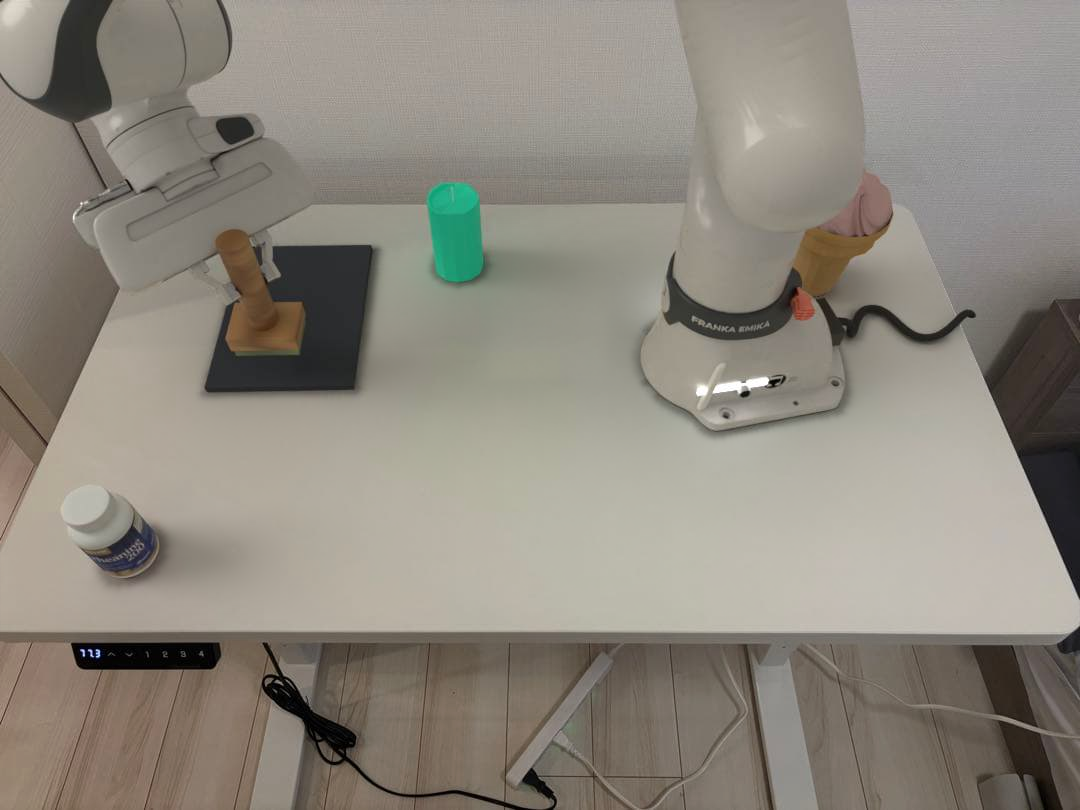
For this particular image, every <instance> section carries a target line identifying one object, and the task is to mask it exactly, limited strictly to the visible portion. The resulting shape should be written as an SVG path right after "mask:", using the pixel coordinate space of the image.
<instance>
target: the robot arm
mask: <svg viewBox="0 0 1080 810" xmlns="http://www.w3.org/2000/svg"><path fill="white" fill-rule="evenodd" d="M847 1H848V0H673V5H674V11H675V15H676V19H677V24H678V29H679V33H680V36H681V42H682V45H683V50H684V55H685V58H686V59H685V60H686V63H687V66H688V71H689V76H690V80H691V83H692V89H693V92H694V97H695V100H696V105H697V110H696V116H695V124H694V131H693V139H692V148H691V155H690V165H689V173H688V180H687V190H686V196H685V197H686V198H685V203H684V208H683V214H682V218H681V223H680V228H679V233H678V239H677V244H676V249H675V250H674V252H673V253H672V255H671V257H670V260H669V263H668V266H667V270H666V274H665V276H664V278H663V279H664V280H663V285H662V290H661V297H660V307H661V308H660V311H659V312H658V315H657V318H656V319H655V322H654V324H653V326H652V327H651V328H650V330H649V332H648V333H647V335H646V336H645V338H644V339H643V341H642V344H641V347H640V353H639V357H640V359H639V361H640V365H641V370H642V372H643V374H644V376H645V378H646V380H647V381H648V383H649V384H650V386H651V387H652V388H653V389H654V390H655V391H656V392H657V393H658V394H659V395H660V396H661V397H663V398H664V399H666V400H667V401H669V402H670V403H672V404H674V405H676V406H677V407H679V408H682V409H684V410H686V411H688V412H689V413H691V414H692V415H693V416H694V417H695V418H696V419H697V420H698V421H699V422H700V423H701V424H702V425H703V426H704V427H705V428H707V429H708V430H710V431H715V432H720V431H726V430H731V429H736V428H741V427H746V426H747V427H748V426H752V425H757V424H763V423H766V422H773V421H778V420H783V419H789V418H794V417H800V416H803V415H808V414H809V415H810V414H815V413H819V412H824V411H830V410H834V409H836V408H838V406H839V404H840V403H841V400H842V398H843V394H844V391H845V384H846V376H845V368H844V363H843V359H842V356H841V352H840V349H839V347H838V346H840V345H841V343H842V341H843V340H844V337H845V335H846V336H847V337H848V338H854V337H855V336H856V335H857V334H858V332H859V327H860V326H861V325H860V324H861V322H862V320H863V317H864V316H865V315H866V314H868V313H875V314H879V315H881V316H882V317H884V318H885V319H886V320H887V321H889V322H890V323H891V324H892V325H893V326H894V327H895V328H896V329H897V330H898V331H899V332H900V333H902V334H903V335H905V336H906V337H908V338H910V339H911V340H914V341H917V342H925V343H926V342H928V343H929V342H934V341H938V340H940V339H942V338H944V337H946V336H948V335H949V334H951V333H952V332H953V331H954V330H956V329H957V327H958V326H960V324H961V323H962V322H963V321H965V320H966V319H967V318H969V319H975V318H976V317H977V313H976V312H975V311H974V310H972V309H967V308H965V309H964V310H962V311H960V312H959V313H958V314H957V315H956V316H955V317H954V318H953V319H952V320H951V321H950V322H948V324H947V325H946V326H944V327H942V328H941V329H940V330H938V331H936V332H935V331H934V332H932V333H921V332H918V331H916V330H913V329H912V328H910V327H909V326H908V325H906V323H904V322H903V321H902V320H901V319H900V318H899V317H898V316H897V315H896V314H894V313H893V312H892V311H891V310H889V309H887V308H886V307H884V306H882V305H878V304H867V305H864V306H862V307H860V308H859V309H858V310H857V311H856V312H855V314H854V315H853V318H852V319H850V318H847V317H841V316H837V314H836V312H834V310H833V308H832V307H831V305H830V304H829V301H828V300H827V299H826V297H821V298H814V296H811V295H810V294H809V293H807V292H806V291H803V290H801V288H802V285H803V283H802V279H801V276H800V274H799V272H798V271H797V270H796V269H795V268H794V264H793V263H794V261H795V258H796V255H797V252H798V250H799V247H800V244H801V242H802V239H803V236H804V234H805V231H806V230H809V229H812V228H815V227H817V226H820V225H822V224H824V223H826V222H827V221H829V220H831V219H832V218H834V217H835V216H837V215H838V214H839V213H840V212H841V211H843V210H844V209H845V208H846V207H847V206H848V204H849V203H850V202H851V201H852V199H853V198H854V196H855V195H856V193H857V191H858V189H859V187H860V184H861V180H862V175H863V167H864V165H865V156H866V137H867V136H866V117H865V110H864V104H863V96H862V90H861V83H860V77H859V70H858V64H857V58H856V52H855V46H854V39H853V35H852V34H853V32H852V27H851V21H850V13H849V8H848V3H847ZM232 48H233V30H232V25H231V21H230V17H229V14H228V12H227V9H226V7H225V5H224V2H223V1H222V0H0V80H1V81H2V82H3V83H4V84H5V86H6V87H7V88H8V89H9V90H10V91H11V92H12V93H13V94H14V95H16V96H17V97H18V98H20V99H21V100H22V101H24V102H26V103H27V104H29V105H31V106H32V107H34V108H36V109H37V110H39V111H41V112H43V113H46V114H48V115H50V116H52V117H54V118H56V119H59V120H62V121H65V122H67V123H70V124H78V123H81V122H83V121H86V120H90V121H92V123H93V125H94V126H95V128H96V129H97V131H98V133H99V136H100V139H101V143H102V146H103V147H104V149H105V151H106V152H107V154H108V155H109V157H110V158H111V160H112V162H113V163H114V164H115V166H116V168H117V170H119V172H120V174H121V176H122V177H123V178H124V180H122V181H120V182H118V183H116V184H114V185H112V186H109V187H107V188H106V189H104V190H103V191H101V192H99V193H96V194H94V195H93V194H92V195H89V196H87V197H85V198H83V199H82V200H80V201H79V202H78V203H79V206H78V207H77V208H76V209H75V210H74V212H73V214H72V225H73V227H74V230H75V231H76V232H77V234H78V236H79V237H80V238H81V240H82V241H83V243H84V244H85V245H86V246H87V247H89V248H91V249H93V250H96V251H98V252H99V253H100V255H101V258H102V259H103V261H104V264H105V265H106V267H107V269H108V271H109V273H110V274H111V276H112V278H113V280H114V281H115V283H116V285H117V287H118V288H119V289H120V290H121V292H122V293H125V294H127V295H130V296H134V297H135V296H139V295H140V294H143V293H145V292H147V291H149V290H150V289H152V288H154V287H156V286H158V285H161V284H163V283H164V282H166V281H168V280H170V279H172V278H174V277H176V276H178V275H180V274H182V273H183V272H186V271H188V272H189V274H190V275H191V276H192V278H193V279H194V280H195V282H198V283H200V284H201V285H203V286H205V287H207V288H208V289H211V291H214V292H215V291H216V294H217V295H218V296H219V298H220V299H221V301H222V302H223V303H224V306H225V307H226V306H227V305H229V304H231V303H233V302H235V301H236V300H238V299H240V298H241V295H240V293H239V292H238V291H236V290H235V288H236V287H235V286H234V284H233V283H232V281H231V280H230V281H229V282H227V283H225V284H223V283H222V282H220V281H218V280H217V279H215V278H213V277H212V276H210V275H208V273H210V271H211V269H210V267H209V266H208V264H207V263H206V261H208V260H209V259H211V258H213V257H216V256H217V255H219V253H218V250H217V248H216V246H215V240H216V238H217V237H218V236H219V235H220V234H221V233H222V232H224V231H227V230H231V229H239V230H242V231H244V232H246V233H247V235H248V237H249V239H250V242H251V243H252V245H253V246H255V247H259V246H262V263H263V265H261V266H260V268H261V271H262V274H263V276H264V279H265V281H266V284H268V283H270V282H272V281H274V280H275V279H277V278H279V277H281V274H280V272H279V271H278V269H277V267H276V266H275V264H274V262H273V261H272V259H273V248H272V246H273V237H272V236H271V234H270V232H269V231H268V229H270V228H272V227H274V226H276V225H278V224H280V223H282V222H284V221H286V220H288V219H290V218H292V217H294V216H295V215H297V214H299V213H301V212H304V211H305V210H307V209H309V208H310V207H311V206H312V205H313V204H314V201H315V194H316V193H315V189H314V187H313V185H312V183H311V182H310V180H309V178H308V177H307V175H306V174H305V172H304V171H303V169H302V167H301V166H300V165H299V163H298V162H297V161H296V160H295V158H294V156H293V155H291V153H290V152H289V151H288V150H287V148H286V147H285V146H284V145H283V144H281V143H280V142H279V141H278V140H276V139H274V138H270V137H264V135H265V131H266V127H265V125H264V122H263V120H262V119H261V117H260V116H259V115H257V114H256V113H253V112H252V113H251V112H245V113H235V114H223V115H210V116H208V115H207V116H201V114H200V113H199V111H198V109H197V108H196V107H195V105H194V104H193V103H192V102H191V101H190V99H189V96H188V91H189V89H190V88H191V87H192V86H195V85H198V84H202V83H206V82H207V81H209V80H210V79H212V78H213V77H215V76H216V75H218V74H220V73H221V72H223V70H224V69H225V68H226V66H227V65H228V63H229V60H230V57H231V54H232V50H233V49H232ZM83 211H84V212H83ZM82 212H83V213H82ZM81 213H82V214H81ZM845 327H846V329H845Z"/></svg>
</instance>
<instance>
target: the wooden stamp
mask: <svg viewBox="0 0 1080 810" xmlns="http://www.w3.org/2000/svg"><path fill="white" fill-rule="evenodd" d="M215 246H216V248H217V250H218V253H219V254H218V255H219V257H220V260H221V263H222V264H223V266H224V269H225V271H226V274H227V277H228V278H229V280H230V282H231V281H232V283H233V284H234V286H235V287H236V288H235V290H236V291H238V292H239V293H240V295H241V298H240V299H239V301H240V303H235V304H234V308H233V311H232V315H231V319H230V323H229V327H228V331H227V334H226V338H225V339H226V341H227V343H228V346H229V348H230V350H231V351H234V352H235V354H236V356H256V355H300V350H301V345H302V340H303V334H304V329H305V324H306V321H305V316H306V314H305V311H304V308H303V305H302V302H273V300H272V297H271V295H270V292H269V289H268V287H267V284H266V281H265V279H264V276H263V274H262V271H261V268H260V266H259V263H258V260H257V258H256V255H255V253H254V250H253V247H252V246H253V244H252V241H251V239H250V238H249V237H248V235H247V233H246V232H244V231H242V230H239V229H231V230H227V231H224V232H222V233H221V234H220V235H219V236H218V237H217V238H216V240H215Z"/></svg>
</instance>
